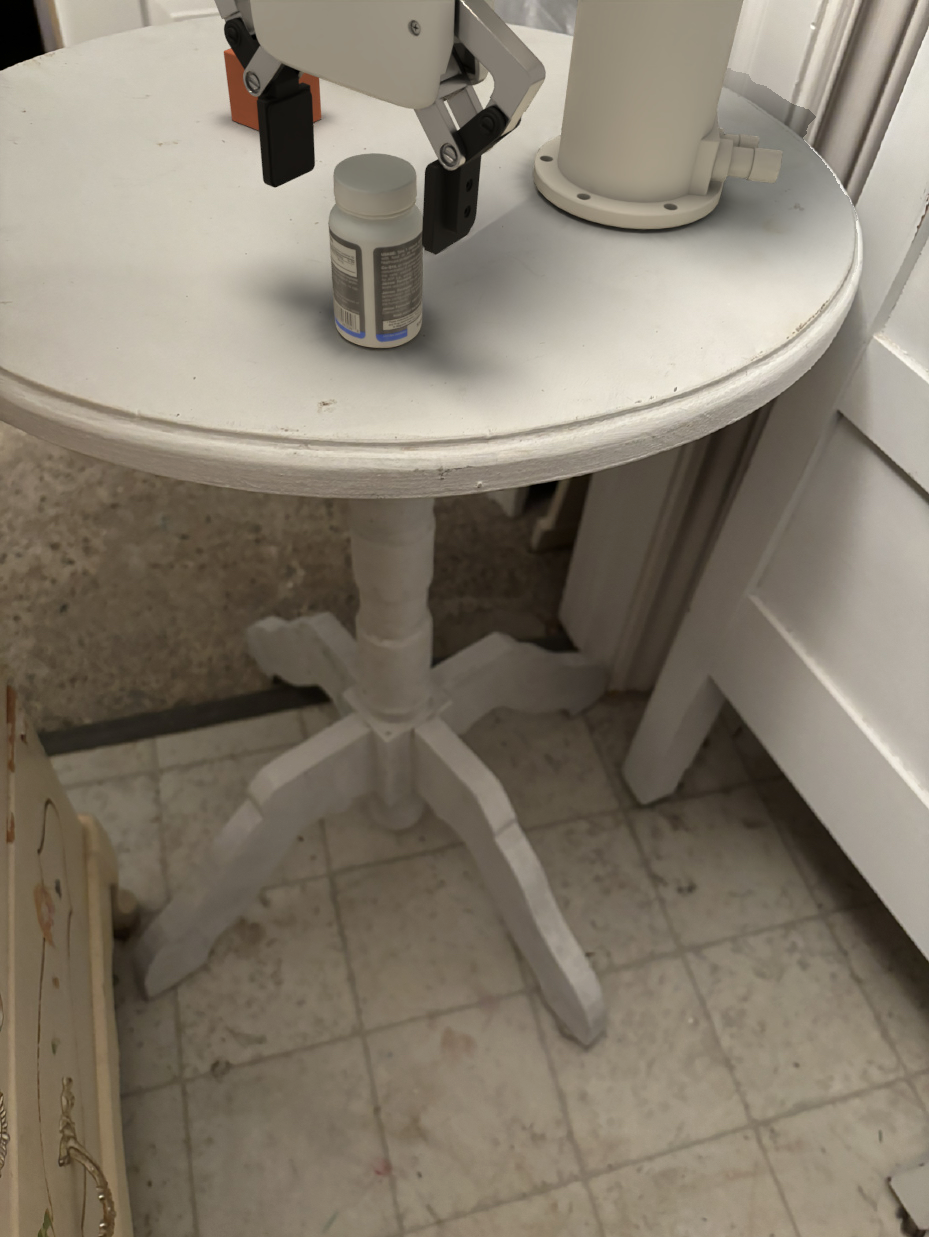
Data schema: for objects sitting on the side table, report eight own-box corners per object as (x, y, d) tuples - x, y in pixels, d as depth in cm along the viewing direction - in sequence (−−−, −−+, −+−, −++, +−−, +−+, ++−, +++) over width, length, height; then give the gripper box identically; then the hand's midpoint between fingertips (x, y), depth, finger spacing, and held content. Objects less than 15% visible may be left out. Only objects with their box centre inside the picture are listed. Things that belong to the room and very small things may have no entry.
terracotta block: (274, 101, 70) (268, 33, 67) (322, 119, 69) (318, 50, 65) (231, 120, 68) (222, 50, 64) (279, 139, 66) (273, 68, 63)
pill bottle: (425, 305, 54) (429, 153, 47) (417, 354, 50) (421, 198, 44) (340, 298, 53) (333, 145, 47) (328, 347, 50) (318, 189, 44)
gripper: (629, -233, 33) (556, 241, 46) (255, -305, 39) (283, 134, 51) (512, -216, 29) (468, 303, 41) (110, -300, 34) (180, 178, 47)
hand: (365, 209), depth 46 cm, fingers open, 9 cm apart
